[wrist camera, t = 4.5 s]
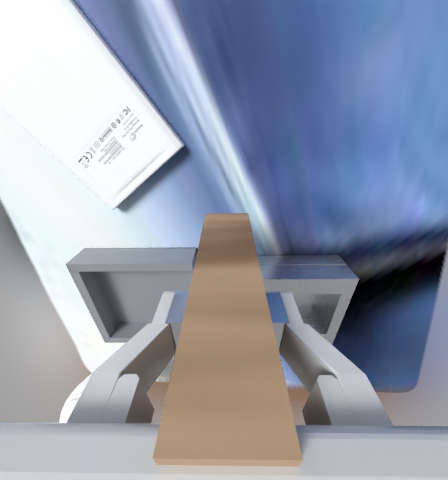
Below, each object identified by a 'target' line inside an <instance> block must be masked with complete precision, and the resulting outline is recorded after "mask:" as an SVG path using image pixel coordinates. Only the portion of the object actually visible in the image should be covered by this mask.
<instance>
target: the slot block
mask: <svg viewBox="0 0 448 480" xmlns="http://www.w3.org/2000/svg"><path fill="white" fill-rule="evenodd" d="M257 257H258V261H259V266H260V270H261V275H262V279H263V284H264V288H265V291H278V292H279V291H291V292H292V294H293V296H294V299H295V302H296V304H297V307H298V310H299V312H300V315H301V317H302V320H303V323H305V324H309V325H310V326H311V327H312V328H313V329H314V330H315V331H317V332H318V333H319V334H320V335H321V336H322V337H323V338H325V339H326V340H327V341H328V342H329V343H330V344H333V341H334V339H335V336H336V334H337V332H338V329H339V327H340V324H341V322H342V319H343V317H344V315H345V312H346V310H347V307H348V305H349V302H350V300H351V297H352V295H353V293H354V290H355V288H356V285H357V283H358V280H359V278H358V277H357V276H356V275H355V274H354V273H353V271H352V270H351V269H350V268H349V267H348V266H347V264H346V263H345V262H344V261H343V259H342V258H341V257H340V256H339V255H276V256H257Z"/></svg>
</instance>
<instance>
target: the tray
mask: <svg viewBox="0 0 448 480" xmlns="http://www.w3.org/2000/svg"><path fill="white" fill-rule="evenodd" d="M196 257H197V252H196V248H88V249H83V250H82V251H81V252H80V253H79V254H77V255H76V256H75V257H74V258H73V259H71V260H70V261H69V262H68V263H67V264H66V266H67V268H68V270H69V272H70V274H71V276H72V278H73V280H74V282H75V284H76V286H77V288H78V290H79V292H80V294H81V296H82V298H83V300H84V302H85V304H86V306H87V308H88V310H89V312H90V313H91V315H92V317H93V319H94V321H95V323H96V325H97V327H98V329H99V331H100V333H101V335H102V337H103V339H104V341H105V342H128V341H129V340H130V339H131V338H132V337H133V336H135V335H136V334H137V333H138V332H139V331H140V330H141V329H142V328H144V327H145V326H146V325H147V324H148V323H152V321H153V318H154V316H155V313H156V310H157V308H158V305H159V302H160V299H161V297H162V294H163V293H164V292H165V291H185V292H189V289H190V284H191V279H192V275H193V270H194V266H195V261H196Z"/></svg>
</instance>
